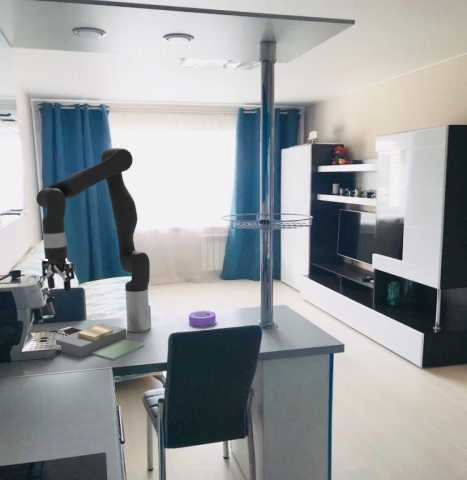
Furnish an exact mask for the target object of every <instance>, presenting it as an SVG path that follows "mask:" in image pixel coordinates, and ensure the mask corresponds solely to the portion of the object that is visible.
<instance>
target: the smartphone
mask: <svg viewBox="0 0 467 480" xmlns="http://www.w3.org/2000/svg"><path fill="white" fill-rule="evenodd" d="M59 330H63V331H64V332H65V334H66V335H67V336H68V335H71V334H73V333H76V332H79V331H82V330H83V329H80V328H76V327H73V326H67V327H64V328H61V329H59ZM66 335H65V336H66Z"/></svg>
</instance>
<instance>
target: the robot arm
mask: <svg viewBox="0 0 467 480" xmlns="http://www.w3.org/2000/svg"><path fill="white" fill-rule="evenodd" d="M100 159H101V160H100V161H101V162H99V163H97V164H95V165H92V166H90V167H86V168H84V169H81V170H78V171H77V172H75V173H73V174H71V175H69V176H68V177H66V178H64V179H63V180H61V181H58V182H55V183H53V184H50V185H48V186H46V187H44V188H42V189H40V191H39V192H38V193H37V194H36V203H37V204H38V206H40V207H41V208H43V209H46V216H43V218H42V231H43V237H42V238H43V250H44V258H45V259H43V260H41V270H42V271H41V272H42V273H41V274H42V277H45V278H46V279H47V286H48V289H49V290H52V289H54V288H56V285H55V284H56V283H55V277H54V276H55V274H57V275H58V276H59V277H61V279H62V280H63V290H64V292H66V293H67V292H70V291H71V289H72V286H71V280H74V279H75V270H74V264H73V262H72V261H71V262H70V261H69V262H67V261H66V259H67V258H68V257H69V255H68V246H67V245H68V244H67V236H66V231H65V215H66V214H65V213H66V208H67V201H66V199H68V198H69V199H70V198H74V197H76V196H79V195H80V194H82V193H84V192H85V191H87V190H89V188H91V187H93V186H95V185H97V184H98V183H100V182H102V181H104V180H105V181H106V184H107V189H108V193H109V199H110V201H111V202H110V203H111V209H112V214H113V215H112V217H113V219H114V224H115V229H116V230H115V231H116V235H117V236H116V237H117V244H118V254H119V255H118V257H119V264H120V266H121V269H122V270H123V272H126V273H130V274H131V280H129V281H127V282H126V283H125V288H124V289H125V305H126V306H125V309H126V327H127V329H126V331H128V332H130V333H144V332H146V331H148V330H150V328H151V327H152V316H151V315H152V313H151V305H150V304H149V283H150V277H151V275H150V274H151V273H150V272H151V269H150V268H151V267H150V266H151V265H150V258H149V255H148V254H147V253H146V252H144V251H136V247H135V242H134V241H135V240H134V234H135V230H136V227H137V224H138V212H137V208H136V202H135V201H134V198H133V197H132V194H131V193H130V192H129V190H128V189H127V187H126V185H125V182H124V177H123V173H124V172H126V171H128V170H129V169H130V168H131V166H132V165H133V162H134V161H133V159H134V158H133V155H132V153H131V152H130V151H129V150H128V149H127V148H122V147H115V148H114V147H113V148H112V147H111V148H106V149H105V150H103V152H102V154H101V158H100Z"/></svg>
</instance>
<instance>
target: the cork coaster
mask: <svg viewBox="0 0 467 480" xmlns="http://www.w3.org/2000/svg"><path fill="white" fill-rule="evenodd" d="M94 326H95V327H93V326H92V327H93V328H90V327H89V328H90V329H87V328H86V329H87V330H85V329H83V330H84V331H82V332H79V333H78V337H82V338H86V339H89V340H93V341H95V340H98V339H101V338H103V337H106V336H108V335H111V334H113V330H111V329H107V328H102V327H98V326H96V325H94Z"/></svg>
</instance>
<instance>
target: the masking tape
mask: <svg viewBox="0 0 467 480" xmlns="http://www.w3.org/2000/svg"><path fill="white" fill-rule="evenodd" d="M216 314H217V313H215V312H213V311H210V310H199V311H192V312H190V313H189V314H188V324H189V325H190V326H194V327H199V328H200V327H202V326H204V327H208V326H207V325H210V324H213V323H214V322H215V321H216V322H217V319H216V316H217V315H216ZM213 325H214V324H213ZM210 326H211V325H210Z"/></svg>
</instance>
